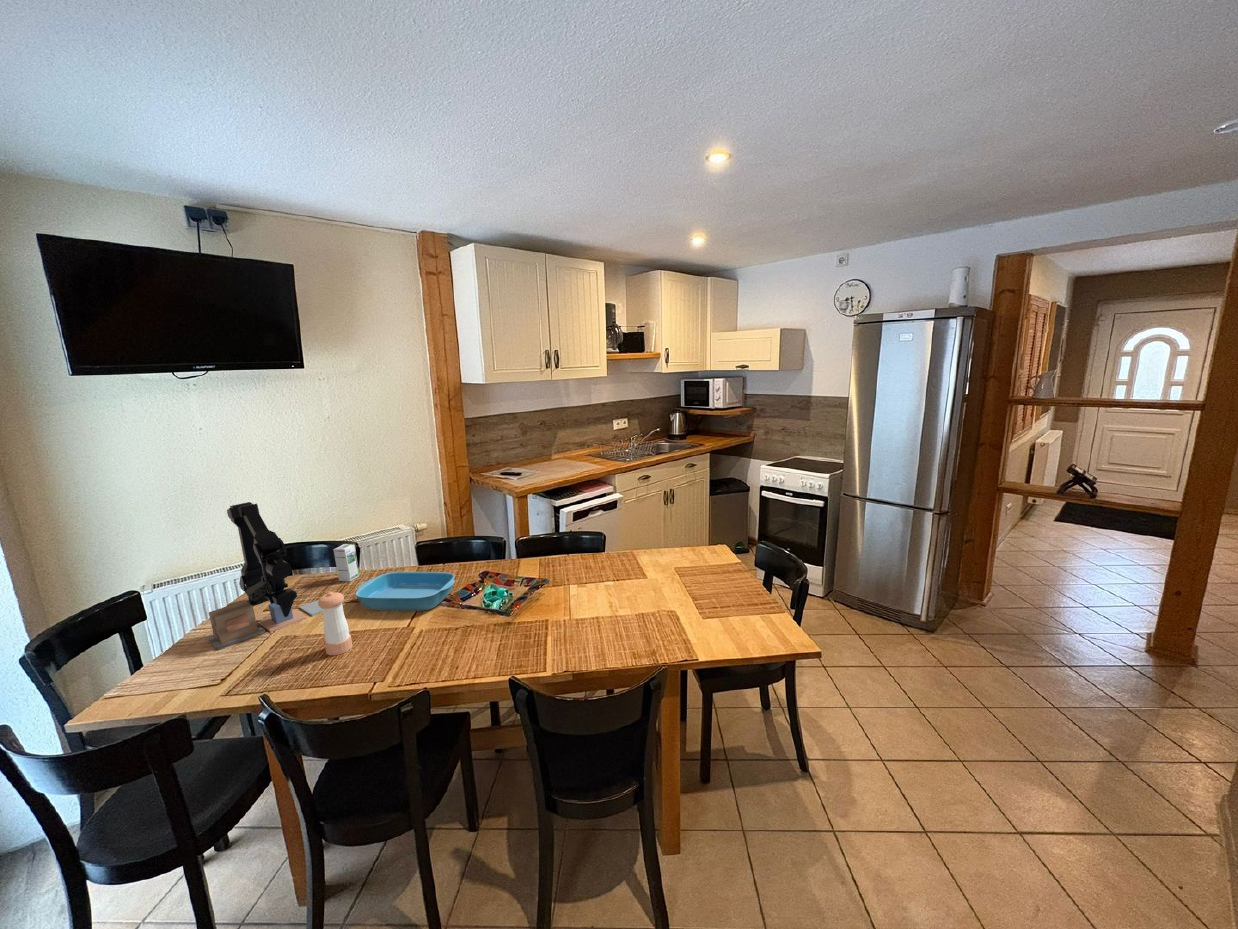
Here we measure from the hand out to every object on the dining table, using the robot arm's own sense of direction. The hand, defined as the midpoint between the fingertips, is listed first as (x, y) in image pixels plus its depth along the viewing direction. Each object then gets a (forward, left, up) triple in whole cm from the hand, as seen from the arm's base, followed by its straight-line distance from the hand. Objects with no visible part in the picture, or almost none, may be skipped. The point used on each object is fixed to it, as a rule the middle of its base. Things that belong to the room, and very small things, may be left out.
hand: (281, 613), depth 175 cm
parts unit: (-2, -13, -3) cm, 13 cm away
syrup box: (-17, +31, -3) cm, 36 cm away
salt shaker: (+37, +3, -3) cm, 37 cm away
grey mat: (0, +13, -3) cm, 13 cm away
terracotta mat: (0, 0, -3) cm, 3 cm away
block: (0, 0, -2) cm, 2 cm away
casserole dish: (+24, +34, -4) cm, 42 cm away
